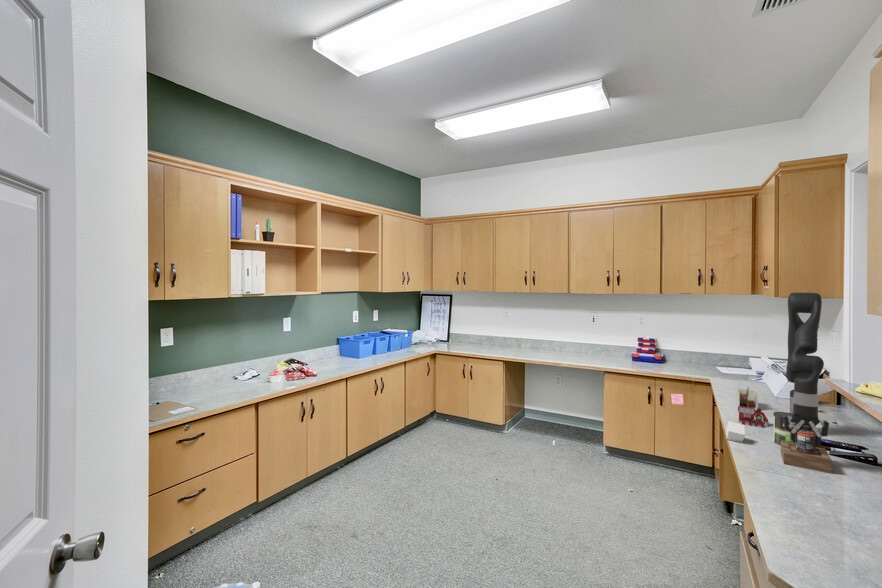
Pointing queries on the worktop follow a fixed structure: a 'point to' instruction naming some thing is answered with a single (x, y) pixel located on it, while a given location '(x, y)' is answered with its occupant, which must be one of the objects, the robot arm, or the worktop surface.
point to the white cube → (735, 432)
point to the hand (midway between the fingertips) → (805, 443)
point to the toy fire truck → (752, 417)
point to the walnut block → (806, 458)
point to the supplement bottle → (805, 440)
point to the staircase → (747, 397)
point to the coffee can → (781, 428)
